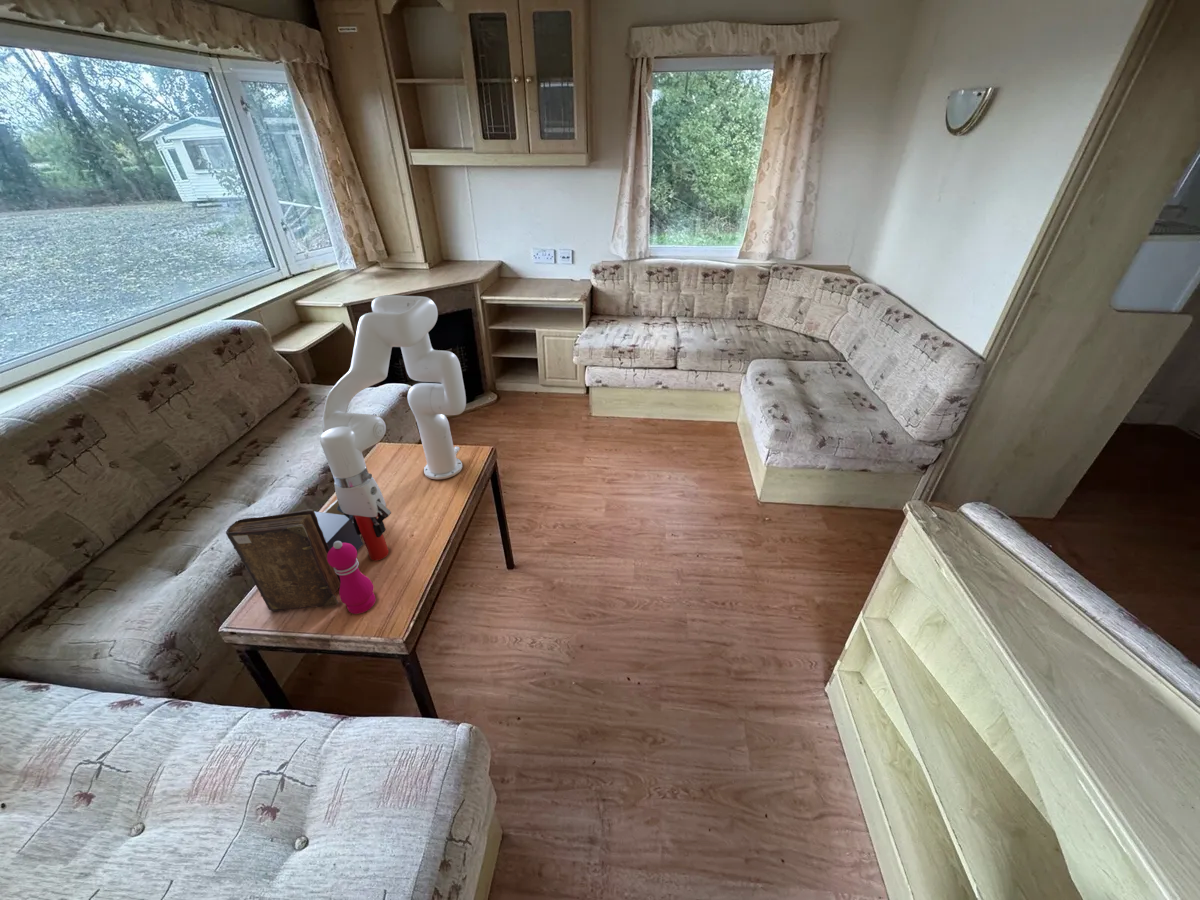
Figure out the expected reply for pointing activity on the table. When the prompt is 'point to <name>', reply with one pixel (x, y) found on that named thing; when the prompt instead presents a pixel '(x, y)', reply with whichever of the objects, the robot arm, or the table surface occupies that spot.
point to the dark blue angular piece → (338, 529)
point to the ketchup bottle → (372, 538)
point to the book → (287, 559)
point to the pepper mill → (351, 578)
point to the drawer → (335, 509)
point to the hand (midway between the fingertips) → (371, 532)
